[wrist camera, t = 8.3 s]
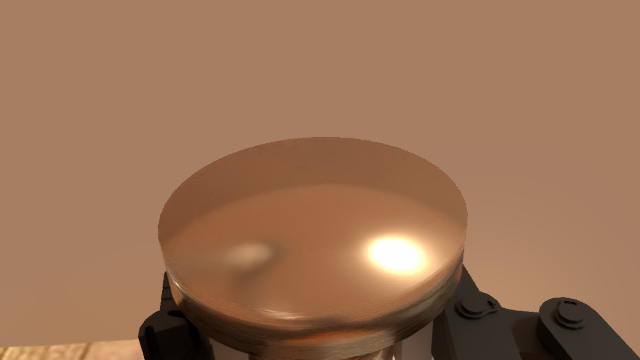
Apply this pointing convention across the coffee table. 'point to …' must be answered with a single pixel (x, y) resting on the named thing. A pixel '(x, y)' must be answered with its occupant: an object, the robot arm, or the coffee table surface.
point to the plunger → (314, 248)
